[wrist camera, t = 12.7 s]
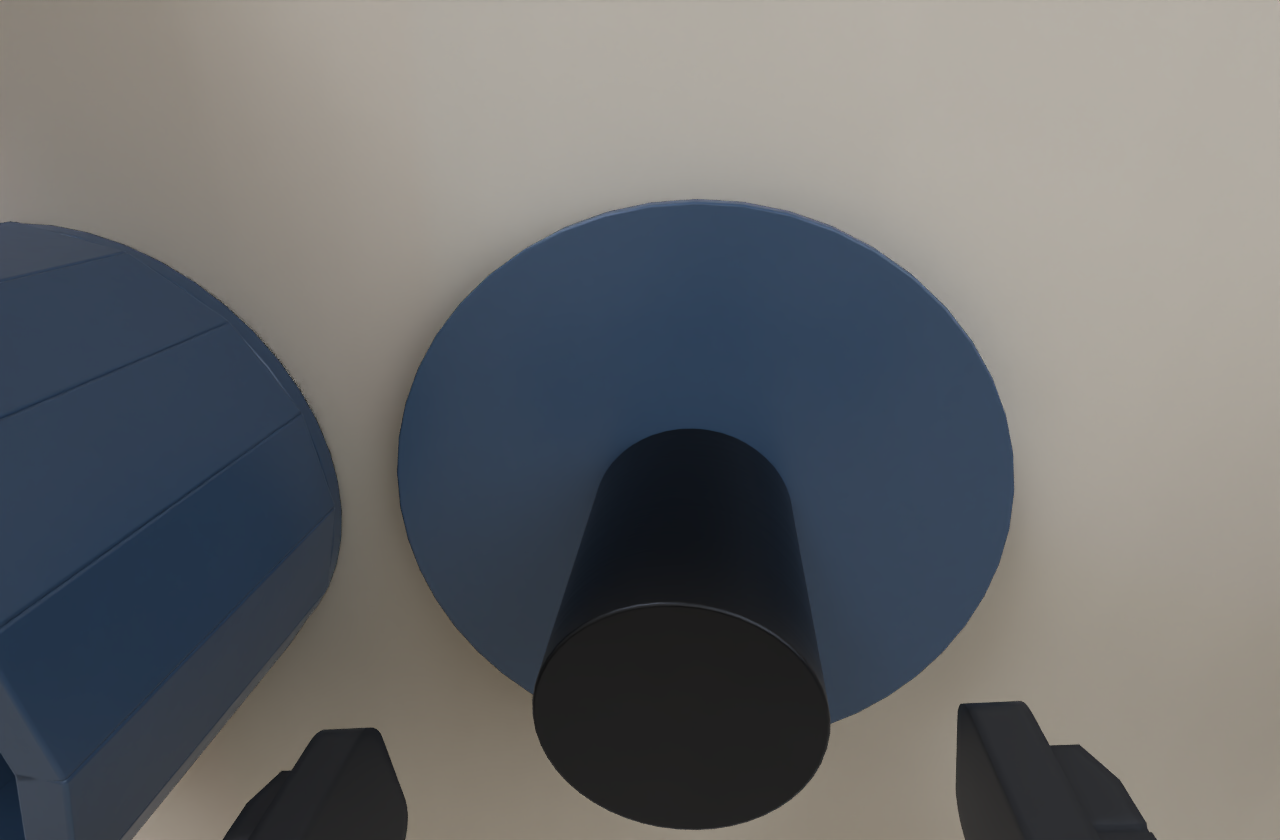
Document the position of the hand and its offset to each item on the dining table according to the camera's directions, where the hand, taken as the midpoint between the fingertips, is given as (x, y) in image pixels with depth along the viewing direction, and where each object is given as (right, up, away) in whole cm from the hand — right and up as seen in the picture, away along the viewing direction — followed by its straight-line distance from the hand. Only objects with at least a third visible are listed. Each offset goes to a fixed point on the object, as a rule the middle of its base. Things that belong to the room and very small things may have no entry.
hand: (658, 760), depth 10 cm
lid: (+1, +3, +7) cm, 7 cm away
